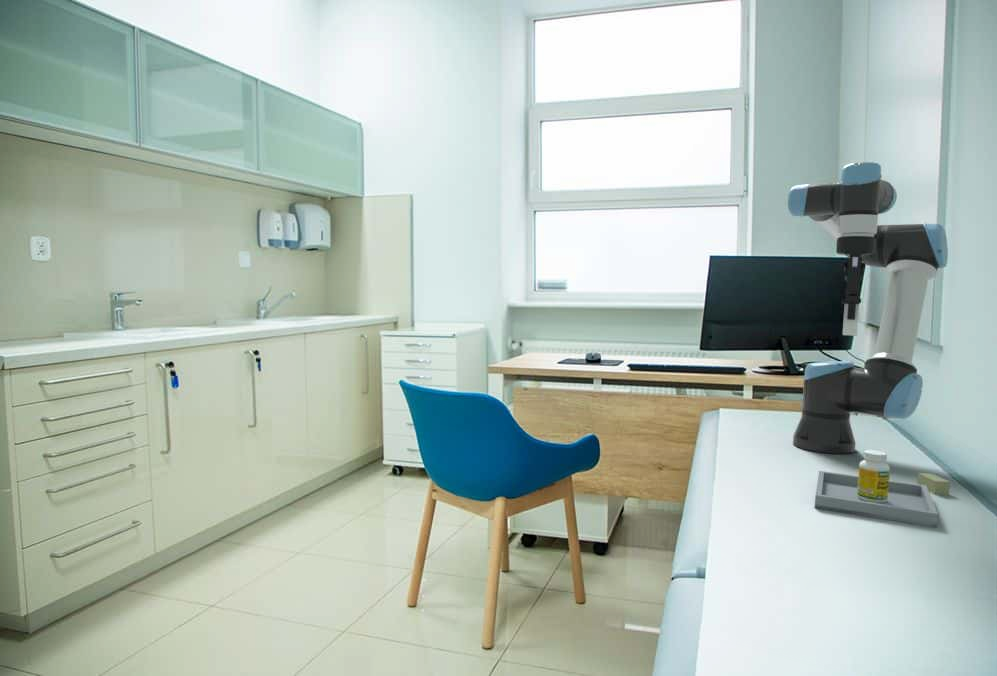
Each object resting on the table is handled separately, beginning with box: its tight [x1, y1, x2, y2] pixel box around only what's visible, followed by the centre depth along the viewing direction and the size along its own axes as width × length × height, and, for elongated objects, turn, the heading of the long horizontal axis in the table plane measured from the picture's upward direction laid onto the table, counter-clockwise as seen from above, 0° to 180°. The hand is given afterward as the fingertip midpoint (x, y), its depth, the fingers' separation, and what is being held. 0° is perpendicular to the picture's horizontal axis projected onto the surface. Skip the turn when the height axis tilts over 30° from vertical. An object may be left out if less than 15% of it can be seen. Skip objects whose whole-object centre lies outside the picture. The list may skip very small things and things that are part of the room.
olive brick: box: [917, 472, 951, 495], centre depth 144 cm, size 6×3×3 cm, turn 179°
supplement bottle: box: [857, 449, 891, 503], centre depth 134 cm, size 5×5×10 cm
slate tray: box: [814, 470, 939, 528], centre depth 135 cm, size 20×20×2 cm
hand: (849, 333), depth 148 cm, fingers open, 13 cm apart
